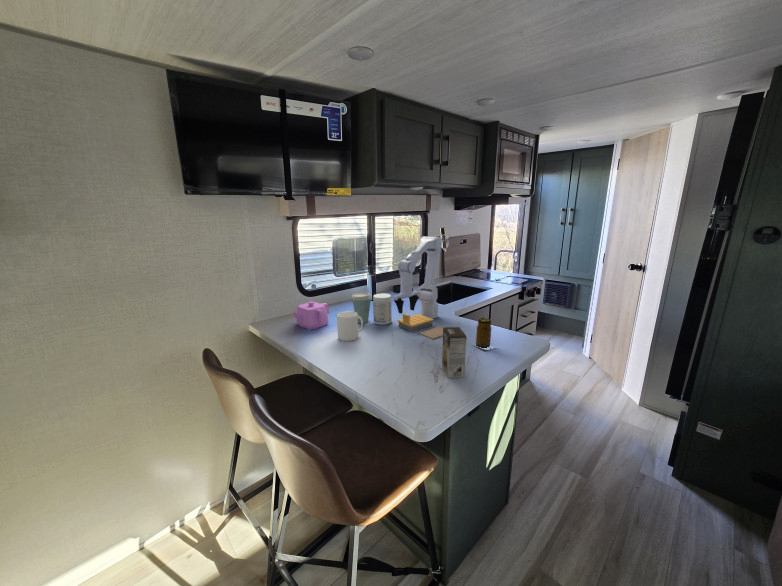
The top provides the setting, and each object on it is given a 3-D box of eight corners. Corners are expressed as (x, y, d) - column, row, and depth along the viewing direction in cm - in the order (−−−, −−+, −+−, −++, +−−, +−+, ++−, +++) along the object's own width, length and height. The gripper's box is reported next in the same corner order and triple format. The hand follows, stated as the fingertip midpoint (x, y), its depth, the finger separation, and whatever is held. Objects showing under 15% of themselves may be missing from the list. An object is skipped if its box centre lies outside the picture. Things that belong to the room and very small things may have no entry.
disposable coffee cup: (350, 323, 174) (349, 296, 170) (354, 317, 184) (353, 291, 180) (370, 324, 172) (369, 296, 169) (373, 317, 183) (373, 291, 179)
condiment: (483, 341, 150) (485, 316, 147) (497, 348, 142) (499, 322, 139) (471, 344, 147) (472, 318, 144) (484, 351, 139) (485, 324, 136)
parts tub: (418, 320, 178) (419, 315, 177) (432, 325, 170) (432, 320, 170) (398, 326, 170) (398, 321, 169) (411, 331, 162) (411, 326, 161)
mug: (334, 337, 156) (332, 313, 153) (355, 331, 163) (354, 308, 160) (345, 343, 149) (344, 319, 146) (366, 336, 156) (366, 313, 153)
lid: (419, 316, 178) (419, 306, 177) (433, 322, 170) (433, 311, 168) (397, 322, 169) (397, 312, 168) (411, 328, 161) (411, 317, 159)
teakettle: (325, 330, 165) (324, 306, 162) (291, 330, 165) (289, 307, 162) (331, 319, 182) (329, 297, 179) (300, 319, 181) (298, 297, 178)
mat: (439, 327, 167) (439, 326, 167) (453, 332, 160) (453, 331, 160) (419, 333, 159) (419, 332, 159) (432, 339, 152) (432, 338, 152)
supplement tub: (384, 318, 182) (384, 292, 178) (395, 322, 175) (395, 295, 171) (369, 321, 176) (369, 295, 172) (380, 326, 169) (380, 298, 165)
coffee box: (441, 366, 127) (442, 326, 123) (457, 365, 127) (459, 326, 123) (447, 378, 118) (448, 336, 114) (464, 377, 118) (467, 335, 114)
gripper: (412, 281, 168) (411, 307, 171) (389, 285, 159) (389, 312, 163) (421, 283, 162) (421, 310, 166) (398, 288, 154) (398, 316, 157)
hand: (406, 311), depth 164 cm, fingers open, 7 cm apart
